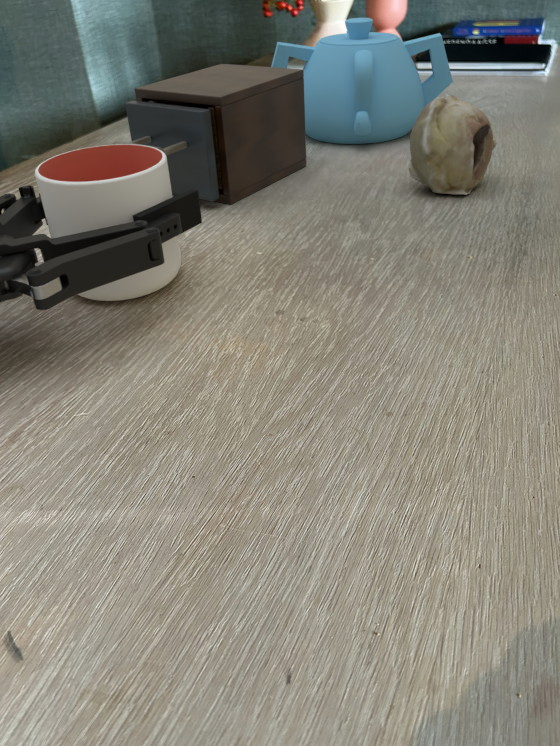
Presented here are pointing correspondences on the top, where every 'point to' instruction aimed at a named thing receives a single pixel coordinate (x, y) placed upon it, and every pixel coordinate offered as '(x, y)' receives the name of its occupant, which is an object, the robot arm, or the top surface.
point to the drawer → (180, 142)
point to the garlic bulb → (450, 146)
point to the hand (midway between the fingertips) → (148, 195)
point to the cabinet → (246, 120)
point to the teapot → (365, 83)
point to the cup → (109, 204)
